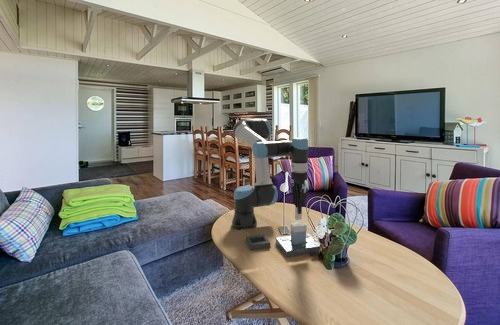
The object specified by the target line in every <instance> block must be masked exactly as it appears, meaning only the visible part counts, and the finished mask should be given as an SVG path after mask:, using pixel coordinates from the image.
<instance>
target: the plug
mask: <svg viewBox="0 0 500 325" xmlns="http://www.w3.org/2000/svg"><path fill="white" fill-rule="evenodd" d="M307 226H308V225H307V224H306V223H304V222H303V221H298V222H290V236H291V243H292V244H293V245H299V244H306V234H307V229H308V228H307Z"/></svg>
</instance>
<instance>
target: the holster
mask: <svg viewBox="0 0 500 325" xmlns="http://www.w3.org/2000/svg"><path fill="white" fill-rule="evenodd" d="M245 243H246V245H247V247H248V249H249V250H250V251H256V250H262V249H270V248H271V241H270V240H269V238H268V237H267V236H266V235H265V234H264V233H263V234H262V233H261V234H256V235H255V234H254V235H249V236H248V235H247V236H245Z"/></svg>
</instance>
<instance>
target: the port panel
mask: <svg viewBox="0 0 500 325" xmlns="http://www.w3.org/2000/svg"><path fill="white" fill-rule="evenodd" d="M313 238H314V237H313V236H312V235H311V234H309V233H306V244H299V245H293V244H292V243H291V235H289V236H288V235H287V236H280V237H276V238H275V245H277V247H278V249H279V250H281V252H282V253H283V254H284V256H285V257H286V258H291V257H292V258H293V257H297V256H304V255H305V256H306V255H309V256H316V255H320V254H319V250H320V244H321V243H320V242H319V241H318V242H316V241H314V239H315V238H314V239H313Z"/></svg>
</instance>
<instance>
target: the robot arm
mask: <svg viewBox="0 0 500 325" xmlns="http://www.w3.org/2000/svg"><path fill="white" fill-rule="evenodd" d="M232 132H233V135H234V136H235V138H236V139H237V140H238V141H239V140H240V141H242V142H243V143H245V144H246V145H248V147H250V148H251V150H252V154H253V160H254V170H255V181H256V182H255V183H254V184H253V185H254V186H253V185H242V186H239V187H236V188H235V190H234V191H233V193H234V194H233V205H234V214H233V217H232V219H231V220H232V221H231V226H233V227H232V228H234V230H235V229H236V230H239V231H241V230H248V229H255V228H256V227H257V226H258V221H257V218H256V215H255V210H254V208H258V207H259V208H260V207H265V206H268V207H269V206H271V205H275V204H276V203H277V201H278V197H279V196H278V195H279V192H278V189H277V188H278V187H277V186H275V185H274V183H273V181H272V180H271V175H270V165H269V158H278V157H291V160H290V161H291V163H290V168H291V169H290V170H291V171H290V178H291V180H292V181H293V182H290V186H291V190H292V191H291V194H292V203H293V204H294V207H295V208H294V210H295V211H294V220H295V221H300V220H302V217H303V216H302V213H303V208H304V207H305V206H306V200H307V194H308V191H309V190H308V188H306V187H305V186H306V184H305V182H306V181H307V180H308V174H309V172H308V170H309V169H308V168H309V146H310V145H309V139H308V138H307V137H293V138H292V139H291V140H289V139H284V140H277V141H275V140H273V141H269V138H270V137H271V136H272V126H271V123H270V121H269V120H268V119H266V118H244V119H243V118H242V119H240V120H238V121H237V122H235V124H234V125H233V127H232Z"/></svg>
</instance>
